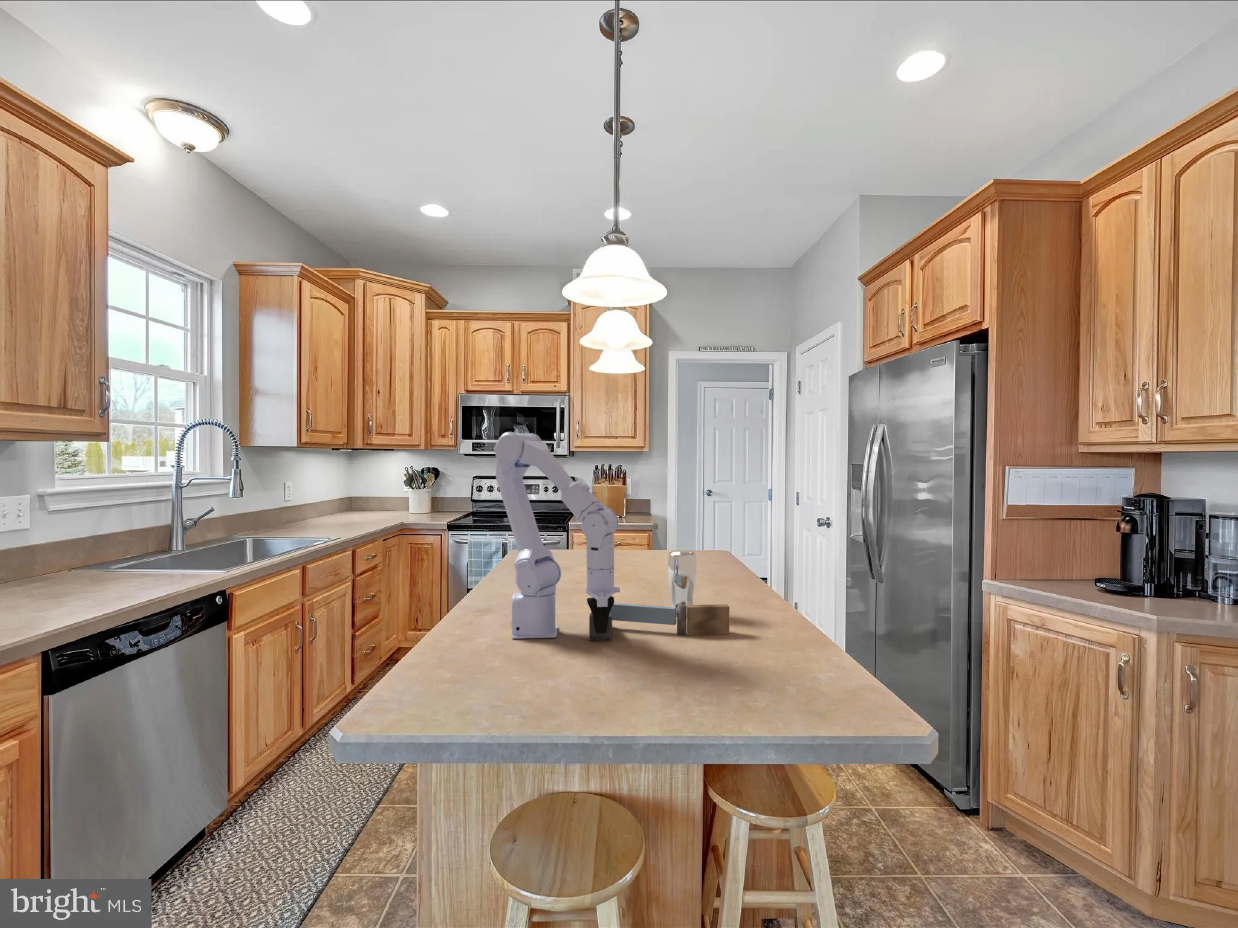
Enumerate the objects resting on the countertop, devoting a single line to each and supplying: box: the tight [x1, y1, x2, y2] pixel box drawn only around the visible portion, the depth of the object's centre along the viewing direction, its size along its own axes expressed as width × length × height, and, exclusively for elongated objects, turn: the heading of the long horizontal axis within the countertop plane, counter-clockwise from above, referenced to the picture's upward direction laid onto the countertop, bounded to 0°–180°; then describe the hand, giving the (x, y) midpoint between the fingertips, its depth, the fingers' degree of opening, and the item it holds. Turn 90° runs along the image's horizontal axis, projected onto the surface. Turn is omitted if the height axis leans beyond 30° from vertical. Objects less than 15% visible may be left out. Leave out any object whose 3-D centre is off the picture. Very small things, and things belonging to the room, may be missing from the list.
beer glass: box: [667, 550, 697, 619], centre depth 140 cm, size 7×7×15 cm
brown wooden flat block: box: [676, 603, 730, 636], centre depth 125 cm, size 11×2×6 cm, turn 95°
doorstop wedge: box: [588, 612, 613, 641], centre depth 125 cm, size 10×4×5 cm, turn 179°
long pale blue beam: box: [610, 602, 677, 626], centre depth 128 cm, size 19×2×4 cm, turn 75°
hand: (600, 632), depth 119 cm, fingers closed
